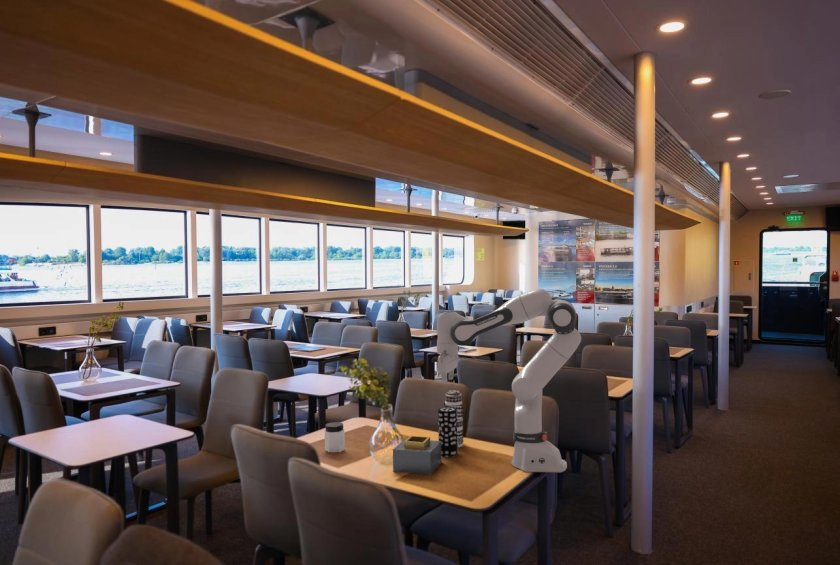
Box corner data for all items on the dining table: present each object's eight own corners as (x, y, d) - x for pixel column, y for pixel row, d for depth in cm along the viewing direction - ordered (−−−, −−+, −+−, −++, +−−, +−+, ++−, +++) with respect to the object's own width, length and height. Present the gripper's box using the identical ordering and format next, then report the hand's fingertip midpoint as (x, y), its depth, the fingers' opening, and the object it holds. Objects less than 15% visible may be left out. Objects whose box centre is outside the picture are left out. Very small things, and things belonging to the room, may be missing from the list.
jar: (337, 454, 260) (336, 427, 260) (322, 452, 263) (321, 426, 263) (347, 448, 268) (347, 422, 268) (332, 446, 272) (332, 421, 271)
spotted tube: (456, 457, 252) (455, 411, 251) (437, 456, 253) (436, 411, 253) (458, 451, 260) (458, 407, 260) (440, 451, 261) (439, 407, 261)
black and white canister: (458, 448, 265) (457, 394, 264) (441, 445, 270) (440, 392, 269) (467, 443, 273) (466, 390, 272) (450, 440, 277) (449, 388, 277)
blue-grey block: (441, 462, 246) (441, 435, 246) (430, 474, 231) (430, 446, 231) (406, 459, 251) (405, 432, 251) (393, 471, 236) (392, 443, 236)
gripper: (448, 352, 235) (448, 386, 236) (460, 346, 255) (460, 377, 255) (433, 352, 237) (433, 385, 238) (446, 346, 257) (447, 377, 257)
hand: (447, 381), depth 247 cm, fingers open, 8 cm apart
